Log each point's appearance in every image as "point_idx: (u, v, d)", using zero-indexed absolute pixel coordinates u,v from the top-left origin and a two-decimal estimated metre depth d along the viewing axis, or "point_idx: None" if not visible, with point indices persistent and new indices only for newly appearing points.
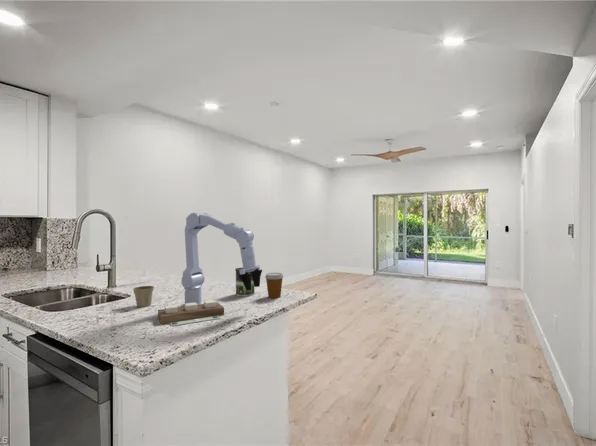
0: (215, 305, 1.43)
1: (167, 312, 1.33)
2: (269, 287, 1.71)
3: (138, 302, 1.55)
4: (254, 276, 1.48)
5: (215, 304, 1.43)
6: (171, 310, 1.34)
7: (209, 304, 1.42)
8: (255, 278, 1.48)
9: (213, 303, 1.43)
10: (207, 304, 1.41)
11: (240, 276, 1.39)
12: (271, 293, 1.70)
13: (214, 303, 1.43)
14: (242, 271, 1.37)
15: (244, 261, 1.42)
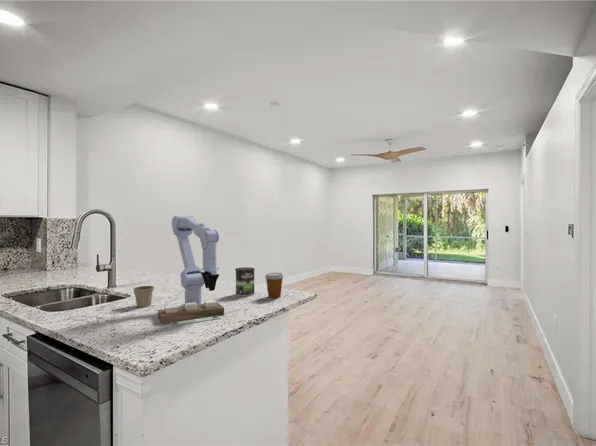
0: (215, 305, 1.43)
1: (167, 312, 1.33)
2: (269, 287, 1.71)
3: (138, 302, 1.55)
4: (206, 277, 1.46)
5: (215, 304, 1.43)
6: (171, 310, 1.34)
7: (209, 304, 1.42)
8: None
9: (213, 303, 1.43)
10: (207, 304, 1.41)
11: (209, 276, 1.39)
12: (271, 293, 1.70)
13: (214, 303, 1.43)
14: (215, 271, 1.38)
15: (210, 261, 1.41)
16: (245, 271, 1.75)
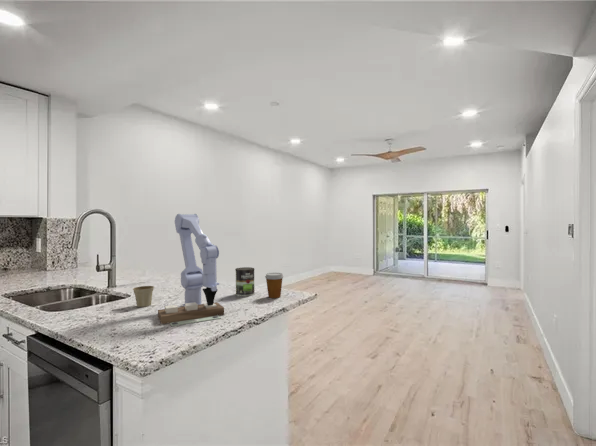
0: None
1: (167, 312, 1.33)
2: (269, 287, 1.71)
3: (138, 302, 1.55)
4: None
5: None
6: (171, 310, 1.34)
7: (209, 307, 1.42)
8: None
9: (213, 306, 1.43)
10: (207, 307, 1.41)
11: (207, 291, 1.41)
12: (271, 293, 1.70)
13: (214, 306, 1.43)
14: (215, 288, 1.38)
15: (210, 277, 1.41)
16: (245, 271, 1.75)
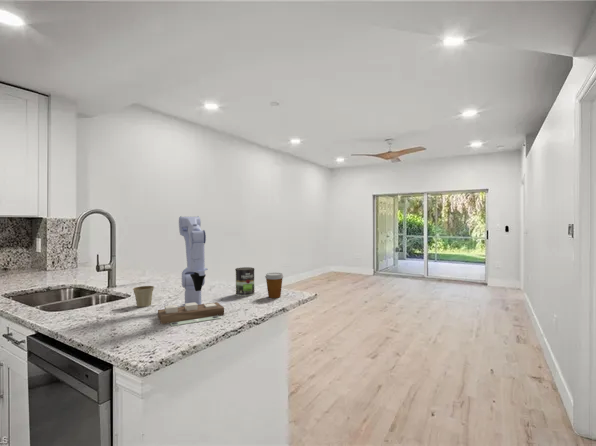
0: None
1: (167, 312, 1.33)
2: (269, 287, 1.71)
3: (138, 302, 1.55)
4: None
5: None
6: (171, 310, 1.34)
7: (209, 307, 1.42)
8: None
9: (213, 306, 1.43)
10: (207, 307, 1.41)
11: (195, 276, 1.38)
12: (271, 293, 1.70)
13: (214, 306, 1.43)
14: (203, 272, 1.35)
15: (198, 262, 1.39)
16: (245, 271, 1.75)
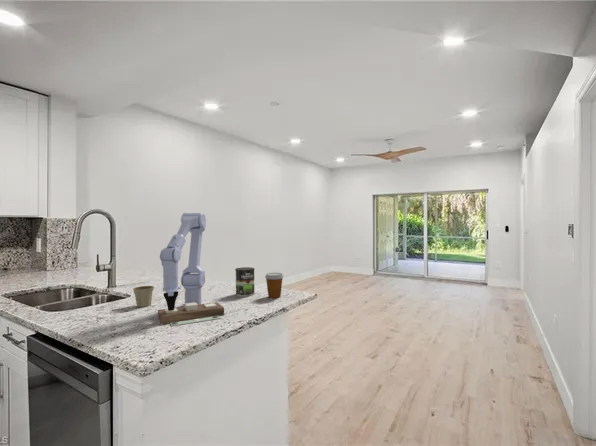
0: None
1: None
2: (269, 287, 1.71)
3: (138, 302, 1.55)
4: None
5: None
6: None
7: (209, 307, 1.42)
8: None
9: (213, 306, 1.43)
10: (207, 307, 1.41)
11: (166, 296, 1.33)
12: (271, 293, 1.70)
13: (214, 306, 1.43)
14: (171, 293, 1.29)
15: (169, 281, 1.33)
16: (245, 271, 1.75)
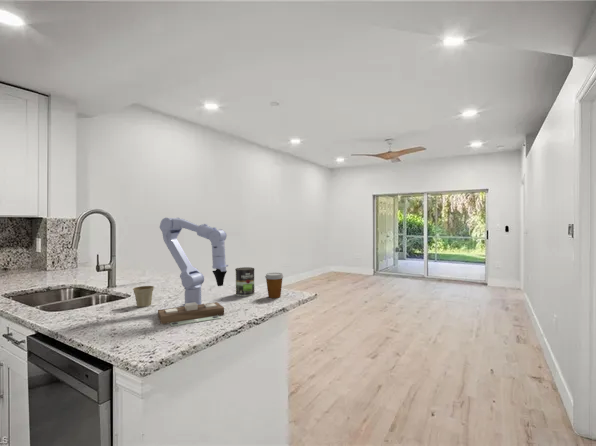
0: None
1: None
2: (269, 287, 1.71)
3: (138, 302, 1.55)
4: None
5: None
6: None
7: (209, 307, 1.42)
8: None
9: (213, 306, 1.43)
10: (207, 307, 1.41)
11: (217, 272, 1.48)
12: (271, 293, 1.70)
13: (214, 306, 1.43)
14: (224, 268, 1.45)
15: (219, 259, 1.48)
16: (245, 271, 1.75)
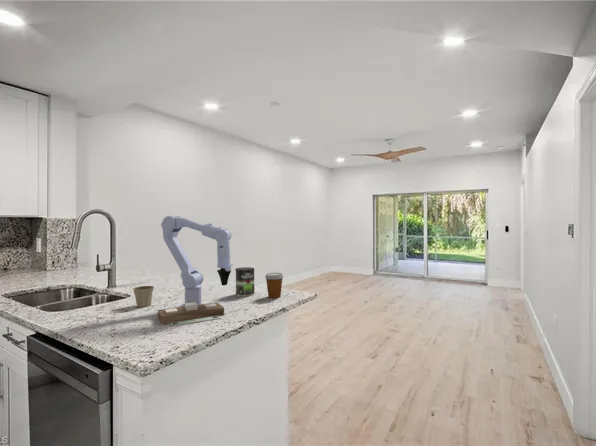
0: None
1: None
2: (269, 287, 1.71)
3: (138, 302, 1.55)
4: None
5: None
6: None
7: (209, 307, 1.42)
8: None
9: (213, 306, 1.43)
10: (207, 307, 1.41)
11: (222, 272, 1.50)
12: (271, 293, 1.70)
13: (214, 306, 1.43)
14: (229, 268, 1.47)
15: (224, 259, 1.50)
16: (245, 271, 1.75)
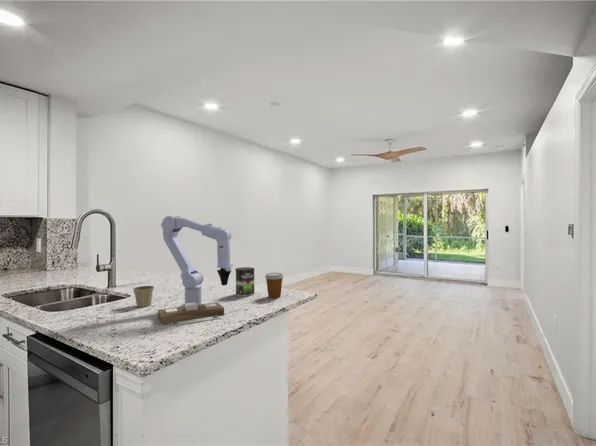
0: None
1: None
2: (269, 287, 1.71)
3: (138, 302, 1.55)
4: None
5: None
6: None
7: (209, 307, 1.42)
8: None
9: (213, 306, 1.43)
10: (207, 307, 1.41)
11: (222, 272, 1.50)
12: (271, 293, 1.70)
13: (214, 306, 1.43)
14: (229, 268, 1.47)
15: (224, 259, 1.50)
16: (245, 271, 1.75)
